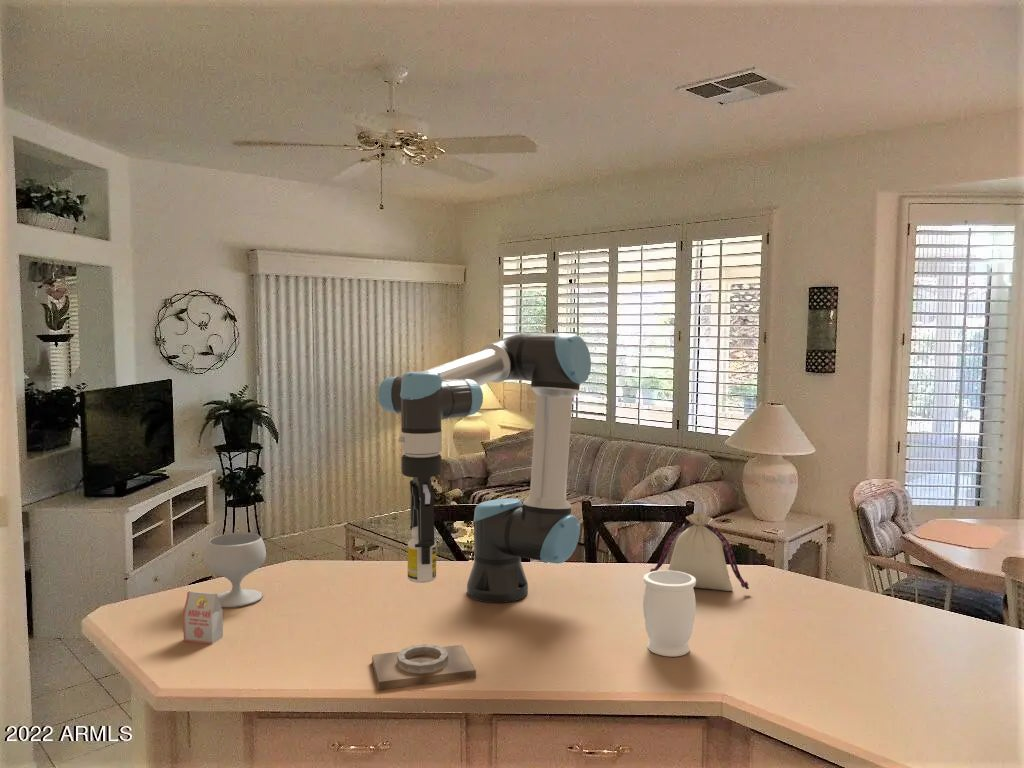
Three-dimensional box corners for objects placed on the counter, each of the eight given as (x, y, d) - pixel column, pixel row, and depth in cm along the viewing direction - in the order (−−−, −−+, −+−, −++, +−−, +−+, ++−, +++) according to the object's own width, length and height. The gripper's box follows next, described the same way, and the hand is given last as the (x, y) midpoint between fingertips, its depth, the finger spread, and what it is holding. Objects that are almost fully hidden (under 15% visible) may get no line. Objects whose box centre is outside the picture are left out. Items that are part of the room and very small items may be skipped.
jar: (664, 664, 148) (665, 588, 147) (632, 644, 157) (633, 573, 156) (705, 653, 153) (707, 580, 152) (672, 635, 162) (673, 566, 161)
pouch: (749, 587, 193) (750, 514, 192) (748, 598, 185) (750, 521, 184) (650, 577, 200) (651, 506, 199) (645, 587, 193) (647, 513, 191)
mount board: (462, 651, 153) (462, 637, 153) (475, 677, 142) (475, 662, 142) (372, 662, 148) (372, 647, 148) (378, 689, 137) (378, 673, 137)
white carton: (194, 634, 162) (193, 588, 161) (223, 637, 160) (221, 591, 160) (183, 641, 158) (182, 594, 158) (212, 644, 157) (211, 596, 156)
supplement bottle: (431, 584, 141) (431, 532, 140) (403, 582, 142) (403, 531, 141) (440, 575, 146) (439, 525, 145) (413, 573, 147) (412, 523, 147)
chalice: (279, 596, 185) (278, 536, 184) (230, 614, 173) (229, 550, 172) (241, 586, 193) (240, 528, 192) (192, 602, 181) (191, 540, 180)
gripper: (395, 447, 150) (396, 562, 152) (408, 462, 133) (409, 592, 134) (432, 445, 152) (433, 559, 154) (450, 461, 135) (451, 588, 136)
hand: (422, 574), depth 144 cm, fingers closed on supplement bottle, 5 cm apart
